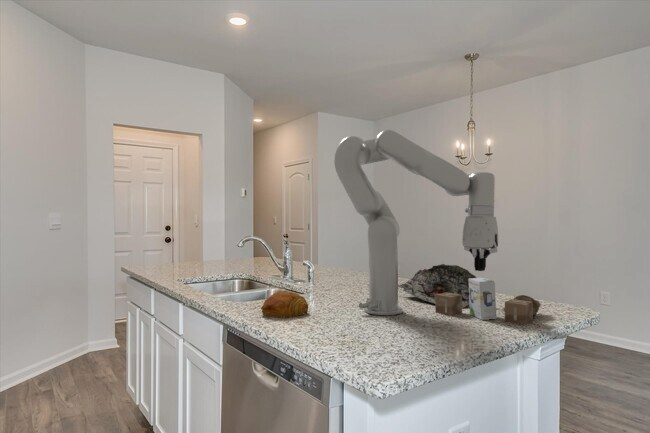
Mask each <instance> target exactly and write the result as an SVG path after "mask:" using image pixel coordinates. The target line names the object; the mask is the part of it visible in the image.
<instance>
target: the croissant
mask: <svg viewBox="0 0 650 433" xmlns="http://www.w3.org/2000/svg"><path fill="white" fill-rule="evenodd" d="M260 309H261V312H262V315H264V316H267V317H270V318H271V317H272V318H294V317H298V316H302V315H306V314H307V313H308V310H309V304H308V302H307V300H306V299H305V297H304V296H303V295H300V294H298V293H296V292H292V291H276V292H274V293H273V294H271V295H270V296H268V297H267V298H266V299H265V301H264V302H263V304H262V306H261V308H260Z"/></svg>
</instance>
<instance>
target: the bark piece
mask: <svg viewBox="0 0 650 433" xmlns="http://www.w3.org/2000/svg"><path fill="white" fill-rule="evenodd" d="M470 278H477V275H474V274H473V273H471V272H470V271H469V270H468V269H467V268H463V267H461V266H460V265H456V264H444V263H442V264H438V265H432V267H430V268H428V269H426V268H424V269H423V270H422V269H419V270H418V271H416V272H415V274H414V276H412V278H410V279H409V280H408V281H406V282H405V283H401V284H398V288H401V289H402V291H403V292H405V293H407V294H409V295H411V296H413V297H415V298H418V299H421V300H422V301H426V302H428V303H431V304H435V305H436V294H441V293H446V292H447V293H453V294H459V295H462V309H464V308H465V307H467V306H470V305H469V279H470Z"/></svg>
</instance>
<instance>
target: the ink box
mask: <svg viewBox="0 0 650 433" xmlns="http://www.w3.org/2000/svg"><path fill="white" fill-rule="evenodd" d="M495 285H496V282H495V281H494V280H492V279H489V278H486V277H476V278H470V279H469V305H468V306H469V315H471V316H473V317H475V318H477V319H479V320H480V321H486V320H488V321H490V320H489V319H495V320H497V307H496V303H497V301H496V286H495Z"/></svg>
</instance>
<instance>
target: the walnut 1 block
mask: <svg viewBox="0 0 650 433" xmlns="http://www.w3.org/2000/svg"><path fill="white" fill-rule="evenodd" d="M504 308H505V312H504V322H505V323H508V322H510V323H509V324H514V323H516V324H515V325H522V326H528V325H529V324H531V323H533V320H534V319H533V318H534V317H533V316H534V315H533V302H531V301H523V300H515V299H514V298H513V299H509V300H507V301H505V302H504Z"/></svg>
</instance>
